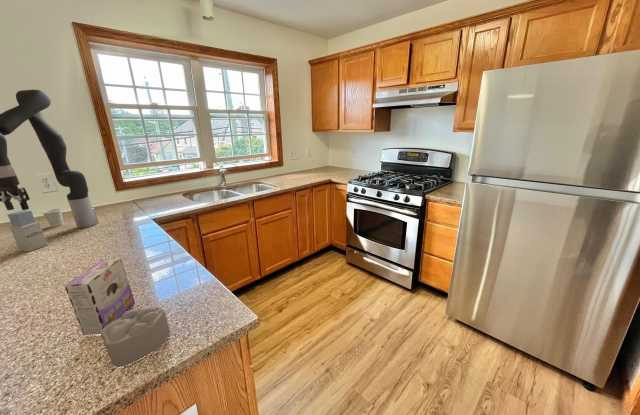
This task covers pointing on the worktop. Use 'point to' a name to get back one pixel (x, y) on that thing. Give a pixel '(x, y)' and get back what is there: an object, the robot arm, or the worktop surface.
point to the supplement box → (29, 236)
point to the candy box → (100, 295)
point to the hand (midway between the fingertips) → (18, 209)
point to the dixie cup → (54, 217)
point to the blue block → (21, 218)
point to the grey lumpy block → (135, 335)
